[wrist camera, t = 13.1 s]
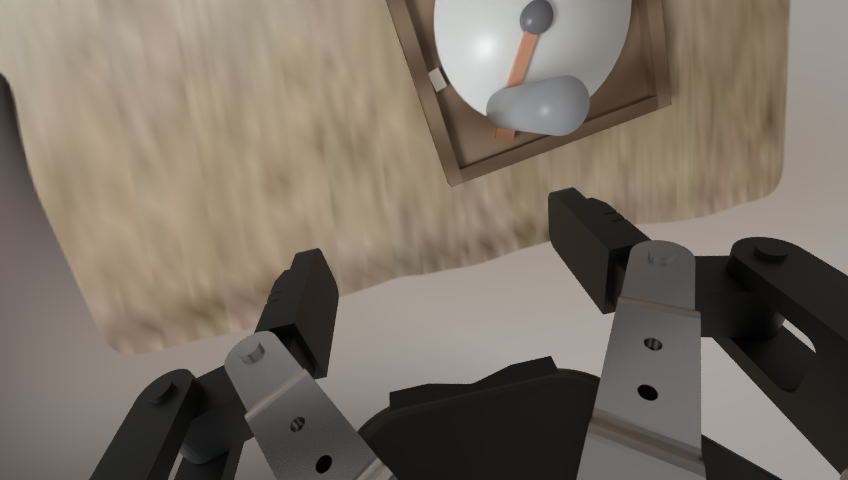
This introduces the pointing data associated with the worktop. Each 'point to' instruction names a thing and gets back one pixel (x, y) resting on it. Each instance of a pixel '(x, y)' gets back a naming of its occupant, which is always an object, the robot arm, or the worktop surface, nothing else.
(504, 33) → the cylinder on round base
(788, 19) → the worktop surface
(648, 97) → the wooden tray
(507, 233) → the worktop surface
